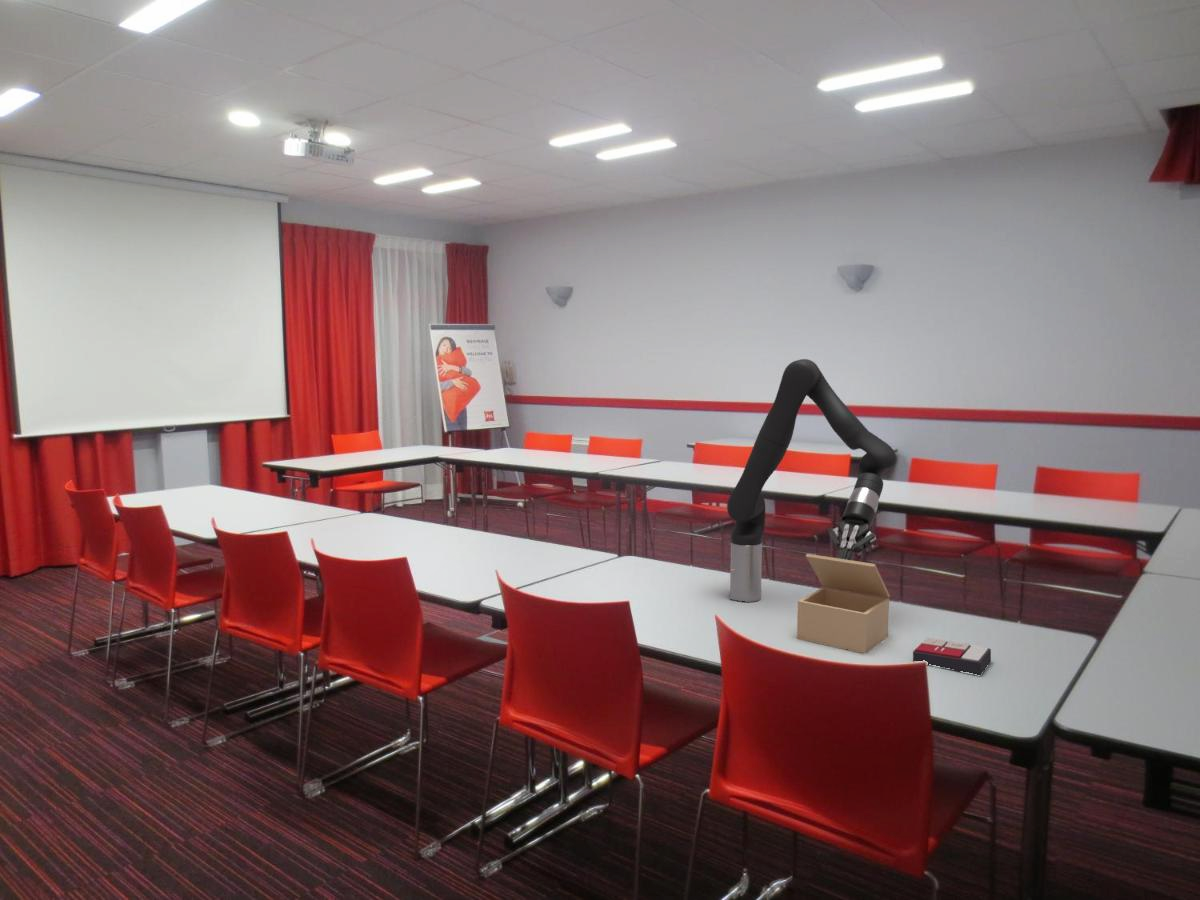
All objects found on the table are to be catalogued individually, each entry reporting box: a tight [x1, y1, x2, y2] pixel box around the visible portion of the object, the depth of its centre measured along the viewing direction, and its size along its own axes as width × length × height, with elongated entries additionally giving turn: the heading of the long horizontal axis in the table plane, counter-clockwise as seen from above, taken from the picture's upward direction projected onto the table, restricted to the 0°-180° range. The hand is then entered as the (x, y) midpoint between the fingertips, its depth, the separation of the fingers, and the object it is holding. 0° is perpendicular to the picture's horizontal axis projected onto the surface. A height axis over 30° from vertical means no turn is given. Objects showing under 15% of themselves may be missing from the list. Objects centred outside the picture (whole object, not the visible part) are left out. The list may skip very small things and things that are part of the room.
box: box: [796, 586, 890, 654], centre depth 209 cm, size 16×18×10 cm
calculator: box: [912, 637, 992, 676], centre depth 192 cm, size 11×4×15 cm
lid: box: [805, 553, 891, 599], centre depth 209 cm, size 16×18×1 cm
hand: (842, 562), depth 206 cm, fingers closed
